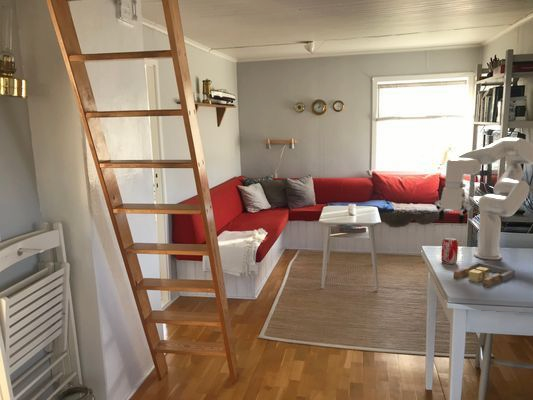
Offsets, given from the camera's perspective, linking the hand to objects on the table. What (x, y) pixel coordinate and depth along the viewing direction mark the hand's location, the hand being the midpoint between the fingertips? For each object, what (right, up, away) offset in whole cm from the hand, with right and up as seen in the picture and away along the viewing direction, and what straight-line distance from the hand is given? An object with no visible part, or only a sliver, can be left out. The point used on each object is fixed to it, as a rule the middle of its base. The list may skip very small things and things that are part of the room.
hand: (451, 221), depth 210 cm
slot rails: (+2, -24, -21) cm, 32 cm away
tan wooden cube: (+1, -24, -21) cm, 32 cm away
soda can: (0, -20, +3) cm, 21 cm away
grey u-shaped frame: (+11, -23, -13) cm, 29 cm away
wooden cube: (+6, -24, -18) cm, 30 cm away
